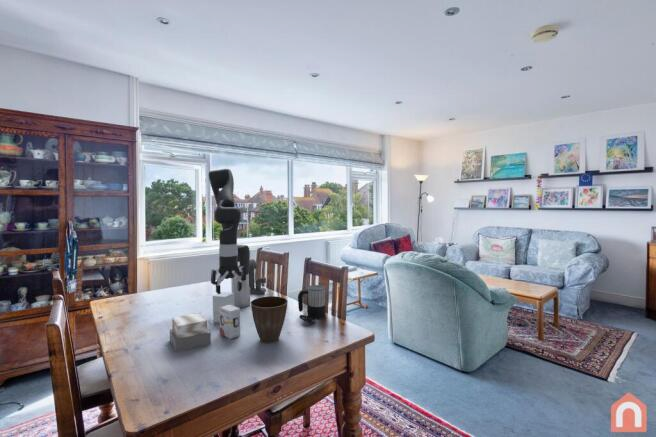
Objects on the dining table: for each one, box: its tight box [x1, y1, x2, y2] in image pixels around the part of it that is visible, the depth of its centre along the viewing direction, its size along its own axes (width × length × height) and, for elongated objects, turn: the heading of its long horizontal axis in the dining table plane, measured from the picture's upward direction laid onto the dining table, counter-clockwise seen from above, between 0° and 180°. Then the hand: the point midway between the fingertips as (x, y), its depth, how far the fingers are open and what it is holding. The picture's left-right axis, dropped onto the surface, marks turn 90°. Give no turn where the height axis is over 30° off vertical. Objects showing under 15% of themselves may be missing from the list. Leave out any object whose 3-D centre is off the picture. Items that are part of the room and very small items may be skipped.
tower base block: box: [169, 328, 212, 353], centre depth 135 cm, size 13×13×5 cm
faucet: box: [249, 258, 267, 295], centre depth 210 cm, size 18×16×20 cm
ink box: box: [219, 305, 241, 339], centre depth 142 cm, size 9×5×12 cm, turn 50°
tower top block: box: [171, 312, 208, 339], centre depth 134 cm, size 11×11×5 cm
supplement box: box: [212, 291, 234, 323], centre depth 159 cm, size 7×7×13 cm
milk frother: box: [297, 284, 327, 325], centre depth 160 cm, size 14×16×15 cm
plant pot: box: [250, 295, 288, 344], centre depth 137 cm, size 15×15×16 cm
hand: (229, 292), depth 141 cm, fingers open, 8 cm apart
